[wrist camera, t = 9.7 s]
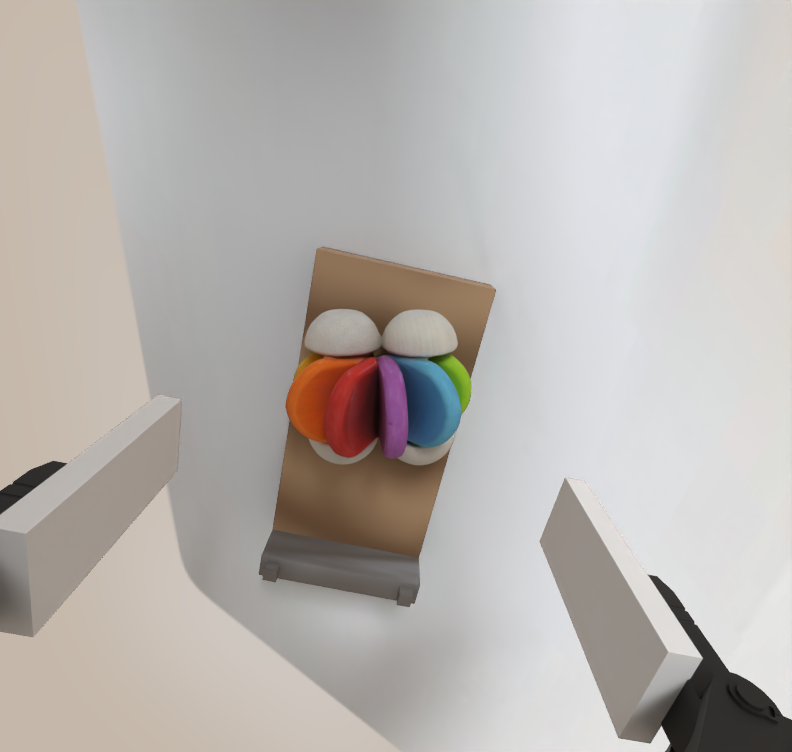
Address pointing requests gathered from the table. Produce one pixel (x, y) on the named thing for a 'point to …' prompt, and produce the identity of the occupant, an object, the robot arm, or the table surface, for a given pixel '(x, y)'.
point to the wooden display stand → (374, 474)
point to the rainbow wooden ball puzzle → (379, 387)
